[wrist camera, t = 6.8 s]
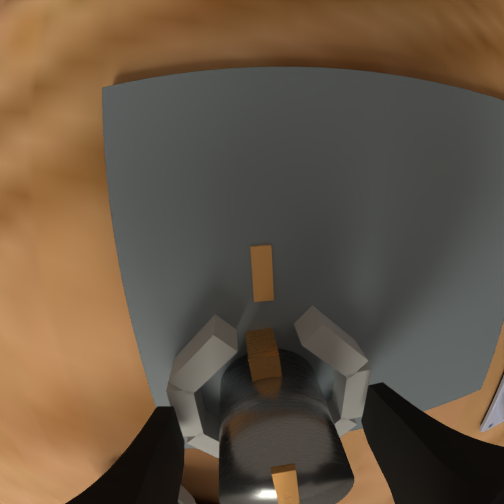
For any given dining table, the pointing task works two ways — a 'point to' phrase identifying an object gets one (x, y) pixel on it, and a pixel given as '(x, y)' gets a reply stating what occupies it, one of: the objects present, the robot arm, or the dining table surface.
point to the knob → (277, 431)
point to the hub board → (308, 231)
